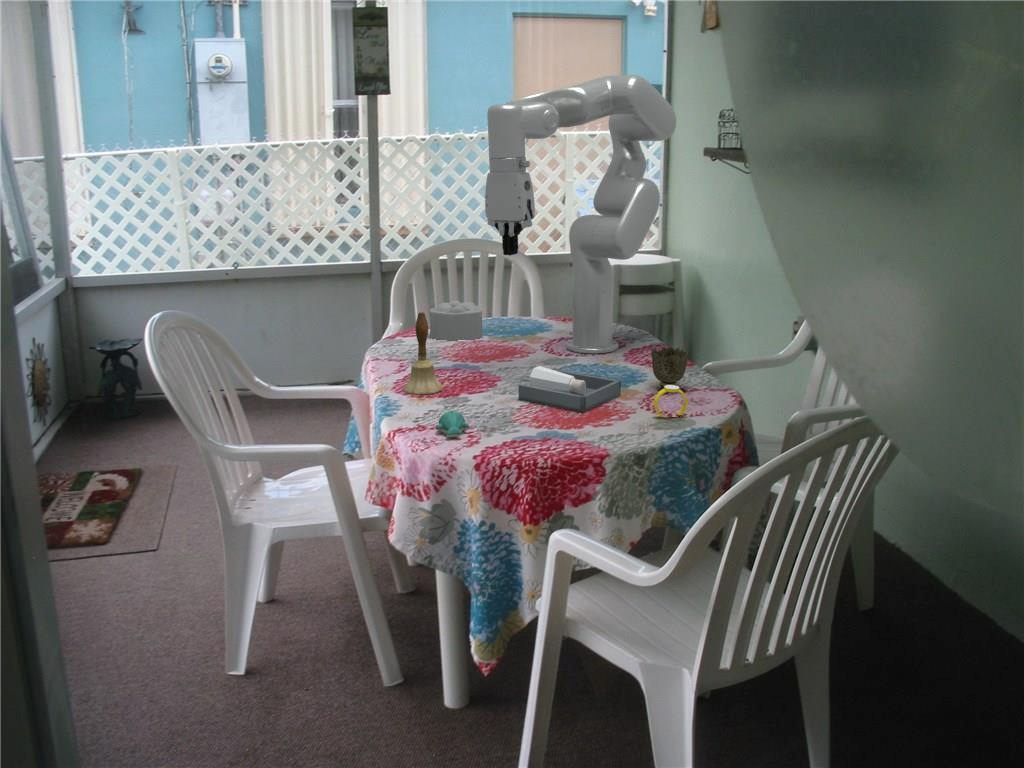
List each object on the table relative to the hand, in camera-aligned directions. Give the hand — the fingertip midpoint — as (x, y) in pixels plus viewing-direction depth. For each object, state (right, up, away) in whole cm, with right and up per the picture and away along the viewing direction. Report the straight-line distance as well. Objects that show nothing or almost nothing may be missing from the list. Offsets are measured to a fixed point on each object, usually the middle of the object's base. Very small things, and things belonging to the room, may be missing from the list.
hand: (510, 254), depth 199 cm
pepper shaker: (+5, -27, -10) cm, 29 cm away
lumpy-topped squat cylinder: (-14, -16, +39) cm, 44 cm away
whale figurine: (-10, -37, -34) cm, 51 cm away
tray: (+12, -30, -14) cm, 35 cm away
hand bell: (-18, -29, -7) cm, 35 cm away
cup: (+32, -29, -8) cm, 44 cm away
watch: (+30, -34, -26) cm, 52 cm away
